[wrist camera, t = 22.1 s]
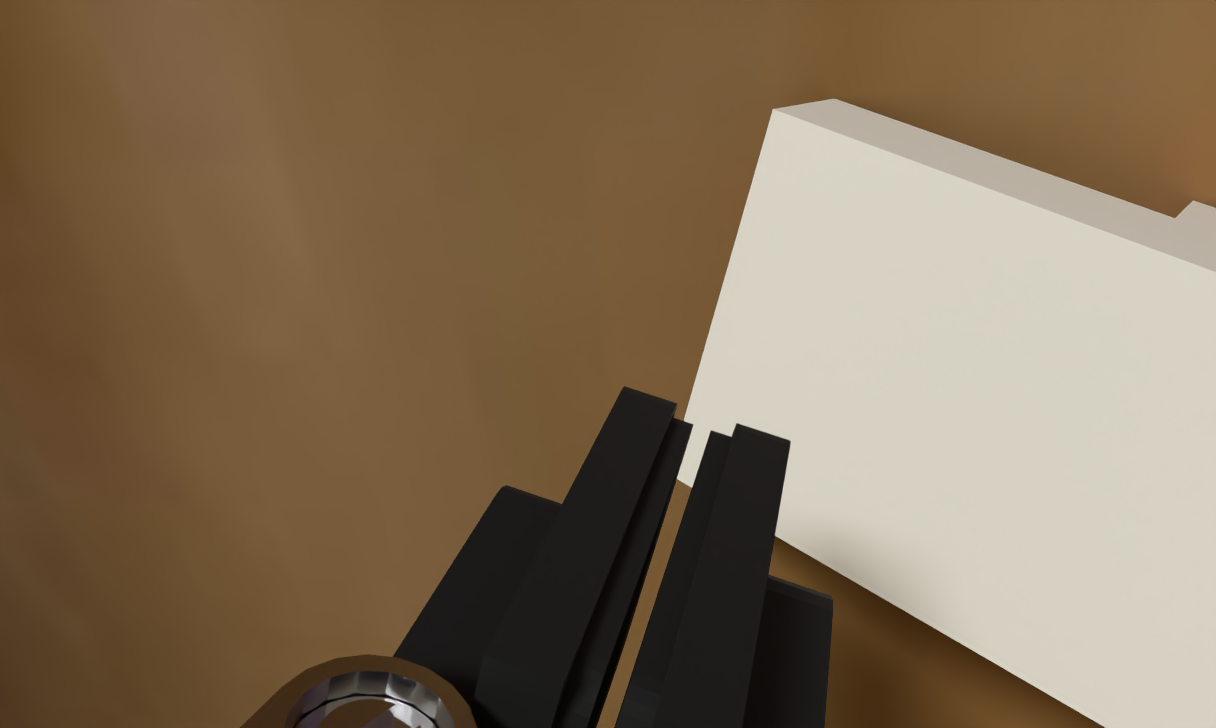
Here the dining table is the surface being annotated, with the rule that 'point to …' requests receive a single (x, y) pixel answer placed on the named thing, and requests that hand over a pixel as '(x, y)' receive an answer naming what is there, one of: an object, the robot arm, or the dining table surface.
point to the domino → (983, 403)
